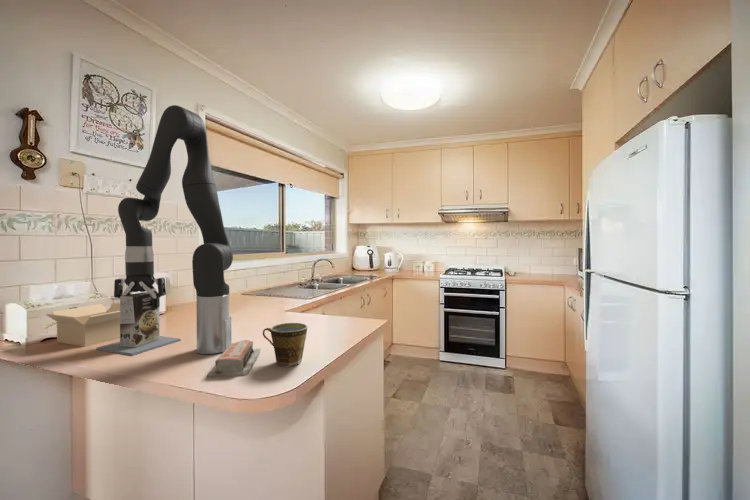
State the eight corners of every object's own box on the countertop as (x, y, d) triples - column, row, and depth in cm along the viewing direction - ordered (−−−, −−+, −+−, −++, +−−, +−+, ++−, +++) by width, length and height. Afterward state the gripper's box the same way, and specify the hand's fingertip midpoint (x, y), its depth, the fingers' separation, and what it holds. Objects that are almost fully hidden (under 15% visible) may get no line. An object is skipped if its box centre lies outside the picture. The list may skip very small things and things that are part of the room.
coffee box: (136, 348, 102) (136, 296, 102) (119, 346, 103) (118, 295, 103) (160, 339, 111) (160, 291, 111) (144, 338, 112) (143, 291, 112)
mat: (180, 340, 112) (180, 338, 112) (132, 355, 97) (132, 353, 97) (146, 335, 118) (146, 334, 118) (96, 349, 102) (96, 347, 102)
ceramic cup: (312, 357, 96) (312, 323, 96) (298, 370, 87) (298, 332, 86) (271, 354, 99) (271, 321, 99) (253, 366, 89) (253, 330, 89)
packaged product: (249, 357, 84) (206, 360, 82) (249, 376, 84) (207, 379, 82) (261, 337, 101) (226, 339, 100) (261, 353, 101) (226, 354, 100)
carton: (147, 332, 121) (146, 305, 121) (80, 350, 102) (80, 318, 101) (110, 327, 128) (109, 302, 128) (40, 343, 108) (40, 313, 108)
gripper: (168, 259, 112) (169, 307, 112) (122, 260, 110) (123, 308, 110) (157, 260, 104) (158, 311, 105) (107, 261, 102) (109, 313, 103)
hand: (140, 310), depth 107 cm, fingers open, 8 cm apart
